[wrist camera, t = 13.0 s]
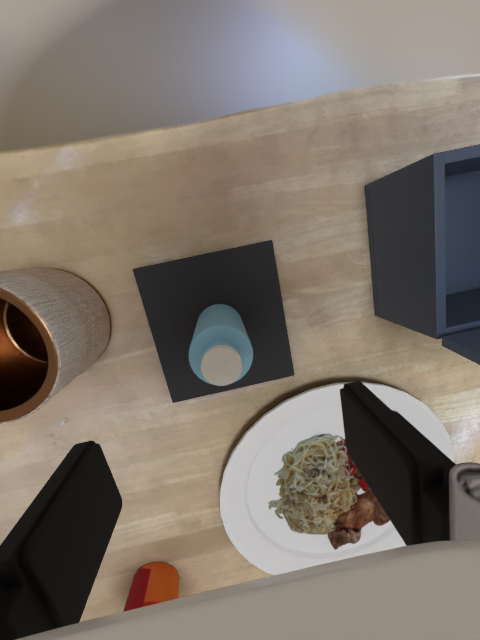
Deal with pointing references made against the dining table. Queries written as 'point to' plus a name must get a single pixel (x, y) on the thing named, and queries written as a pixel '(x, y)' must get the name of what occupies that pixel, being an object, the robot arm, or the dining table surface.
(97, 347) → the planter
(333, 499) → the plated food
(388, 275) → the chest
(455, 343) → the lid
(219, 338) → the bottle
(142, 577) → the coffee cup
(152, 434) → the dining table surface
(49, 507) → the robot arm
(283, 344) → the mat
